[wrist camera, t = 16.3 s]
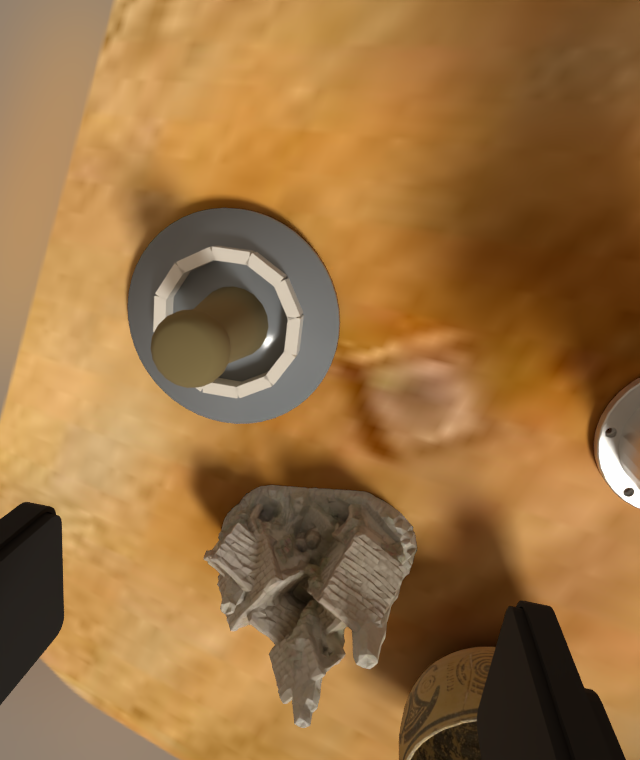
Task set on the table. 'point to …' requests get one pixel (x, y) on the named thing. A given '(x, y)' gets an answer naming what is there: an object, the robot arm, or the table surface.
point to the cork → (209, 337)
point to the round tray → (261, 278)
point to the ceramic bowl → (446, 708)
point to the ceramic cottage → (312, 579)
